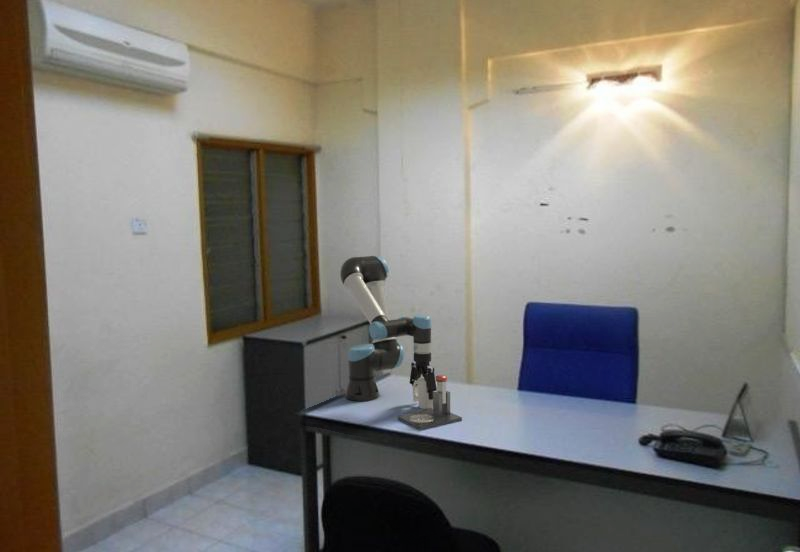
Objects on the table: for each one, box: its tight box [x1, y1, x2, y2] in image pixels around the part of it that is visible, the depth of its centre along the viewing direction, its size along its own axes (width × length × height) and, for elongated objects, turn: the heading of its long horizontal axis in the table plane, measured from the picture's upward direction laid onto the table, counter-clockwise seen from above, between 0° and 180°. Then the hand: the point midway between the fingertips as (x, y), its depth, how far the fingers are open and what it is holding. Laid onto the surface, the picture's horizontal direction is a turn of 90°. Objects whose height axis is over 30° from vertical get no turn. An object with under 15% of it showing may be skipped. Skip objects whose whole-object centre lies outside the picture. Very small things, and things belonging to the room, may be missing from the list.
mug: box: [412, 376, 433, 410], centre depth 257 cm, size 10×7×12 cm, turn 54°
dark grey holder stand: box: [397, 390, 463, 431], centre depth 240 cm, size 16×20×10 cm
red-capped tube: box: [435, 374, 448, 404], centre depth 243 cm, size 4×4×11 cm
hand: (423, 403), depth 258 cm, fingers closed on mug, 9 cm apart
